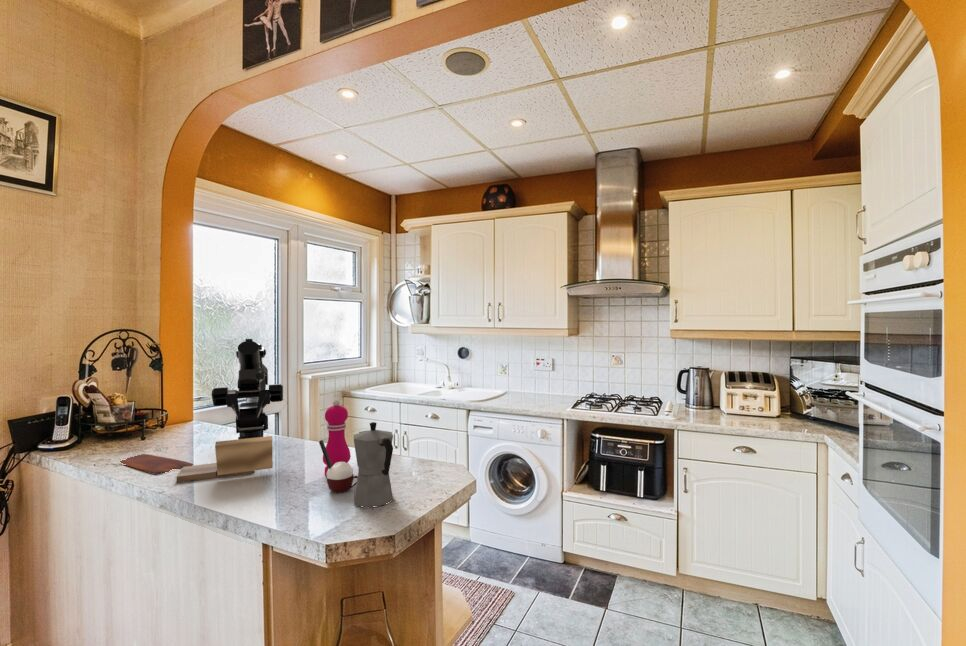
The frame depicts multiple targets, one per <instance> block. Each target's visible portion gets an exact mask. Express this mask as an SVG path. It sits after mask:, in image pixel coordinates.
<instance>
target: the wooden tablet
mask: <svg viewBox="0 0 966 646" xmlns="http://www.w3.org/2000/svg"><path fill="white" fill-rule="evenodd" d="M140 454H141V453H140ZM140 454H137V456H136V455H133V456H134V457H133V456H129V457H130V458H129V457H126V458H127V459H126V458H125V459H126V460H122V461H120V462H121V463H123V464H126V465H127V466H126V467H128V466H130V467H129V468H132V467H133V468H134V469H136V470H139V469H140V471H142V470H143V472H145V471H146V473H148V472H150V473H149V474H151V473H155V474H154V475H156V474H161V473H165V472H168V473H170V472H171V471H170V470H172V469H179V470H181V468H183V467H186V466H192V465H193V466H194V464H193V463H191V462H188V461H184V460H179V459H175V458H168V457H165V456H158V455H154V454H153V455H152V454H145V453H142V454H141V455H140ZM169 471H170V472H169ZM172 471H173V470H172ZM165 474H166V473H165ZM161 475H162V474H161Z"/></svg>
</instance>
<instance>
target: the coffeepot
mask: <svg viewBox="0 0 966 646" xmlns="http://www.w3.org/2000/svg"><path fill="white" fill-rule="evenodd" d="M369 427H370V429H369V430H368V429H367V430H362V431H358V433H355V434H353V445H354V449H355V450H354V451H355V456H356V457H355V458H356V464H357V467H358V473H357V476H358V477H357V478H356V482H357V483H356V482H355V483H356V485H355V492H354V496H353V497H354V498H353V500H354V501H353V504H354V505H355V506H357V505H358V506H357V507H359V506H363V507H373V506H380V507H382V506H381V505H384V504H386V503H388V502H390V501H391V500H392V501H394V496H393V490H392V486H391V485H392V483H391V478H390V468H391V463H392V457H393V452H394V446H393V438H394V435H393V432H392V431H386V430H379V429H376V428H377V422H374V421H372V422H369ZM392 501H391V502H392ZM391 502H390V503H391ZM388 504H389V503H388ZM386 505H387V504H386ZM384 506H385V505H384ZM363 507H362V508H363Z"/></svg>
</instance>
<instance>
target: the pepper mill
mask: <svg viewBox="0 0 966 646" xmlns="http://www.w3.org/2000/svg"><path fill="white" fill-rule="evenodd" d="M348 417H349V412H348V409H347V408H346V407H345V406H343V405H341V402H340V400H338V399H334V400H333V402H332V406H330V407H328V408H327V409H326V410H325V413H324V420H325V421H326V422H327V423H326V430H327V431H328V438H327V443H326V446H325V448H326V450H327V453H328V456H329V458H330V461H331V464H332V466H333V465H334V464H335V463H337V462H346V463H349V461H350V460H351V451H350V448H349V444H347V440H346V436H345V429H347V423H346V420H347V419H348ZM322 462H323V464H325V467H324V475H325V476H326V477H327V474H326V473H327V471H328V469H329V468H328V465H327V462H326V460H325V457H324V454H323V453H322Z"/></svg>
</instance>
